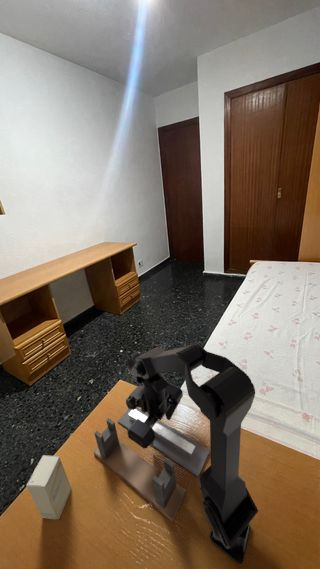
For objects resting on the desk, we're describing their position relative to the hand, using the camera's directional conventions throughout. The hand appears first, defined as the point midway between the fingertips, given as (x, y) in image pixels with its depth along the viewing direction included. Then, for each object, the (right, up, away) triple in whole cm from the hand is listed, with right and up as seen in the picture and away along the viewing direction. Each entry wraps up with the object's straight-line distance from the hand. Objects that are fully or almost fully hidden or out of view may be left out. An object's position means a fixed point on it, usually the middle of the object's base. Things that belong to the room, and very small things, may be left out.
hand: (159, 431), depth 66 cm
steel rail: (0, -1, 0) cm, 1 cm away
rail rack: (-6, -6, -7) cm, 11 cm away
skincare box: (-24, -9, -12) cm, 29 cm away
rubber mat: (0, -2, +1) cm, 2 cm away
